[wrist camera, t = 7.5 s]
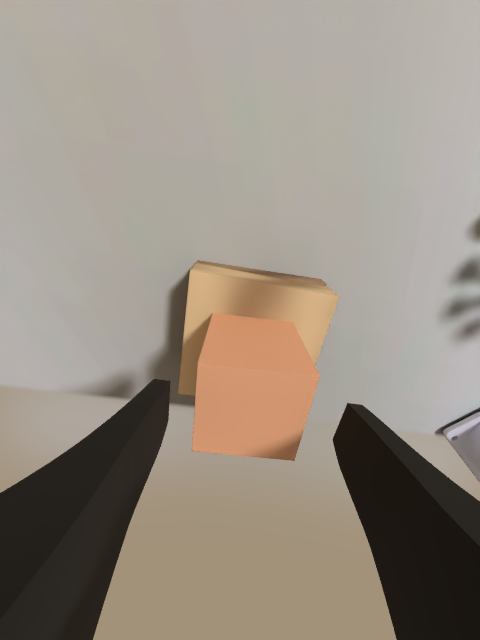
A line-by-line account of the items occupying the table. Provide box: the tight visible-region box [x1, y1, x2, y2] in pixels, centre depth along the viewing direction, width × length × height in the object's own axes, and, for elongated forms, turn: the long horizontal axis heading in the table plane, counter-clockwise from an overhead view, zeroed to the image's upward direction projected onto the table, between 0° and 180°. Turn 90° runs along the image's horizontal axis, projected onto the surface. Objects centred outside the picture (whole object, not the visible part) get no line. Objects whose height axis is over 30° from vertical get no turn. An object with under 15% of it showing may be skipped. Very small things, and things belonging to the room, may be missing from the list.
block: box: [192, 313, 320, 461], centre depth 12 cm, size 4×4×5 cm
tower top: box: [178, 263, 340, 396], centre depth 15 cm, size 8×8×2 cm
